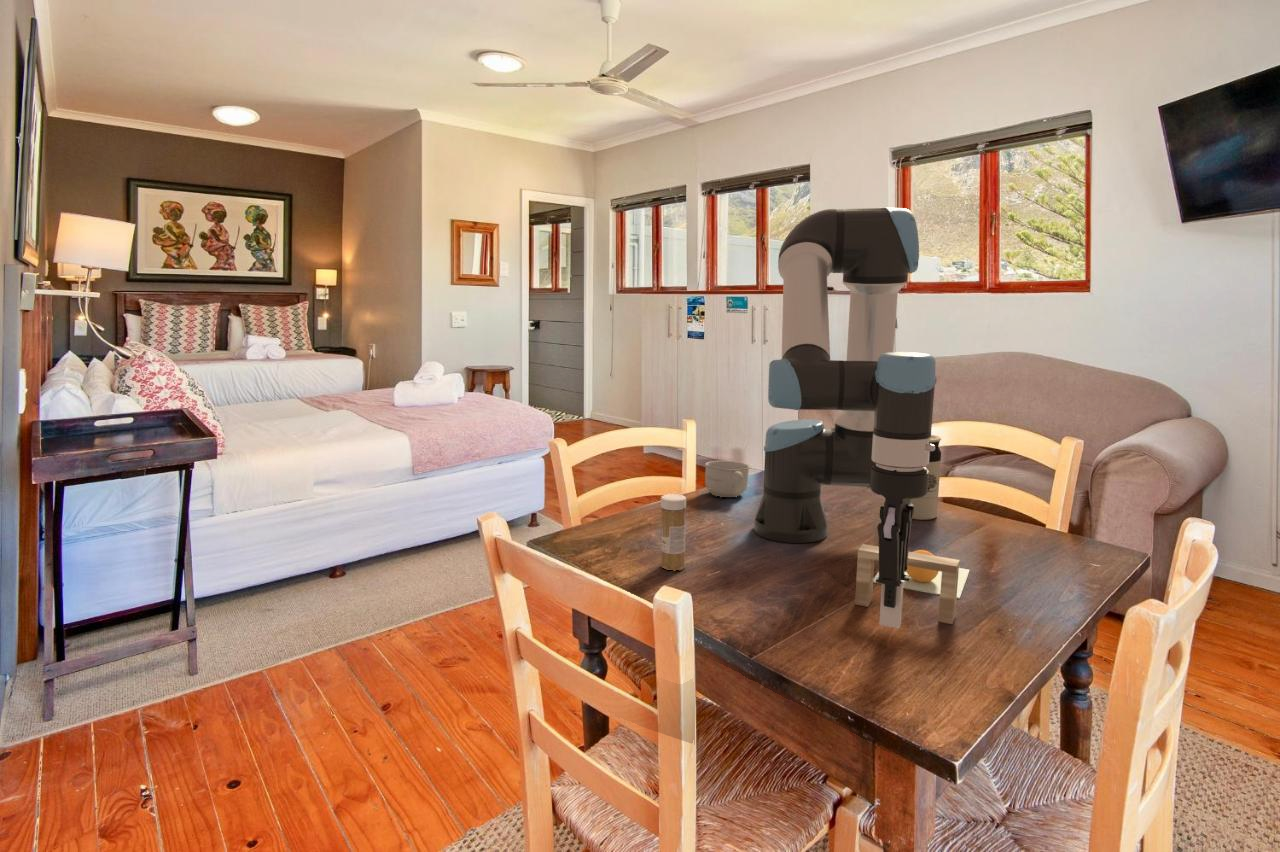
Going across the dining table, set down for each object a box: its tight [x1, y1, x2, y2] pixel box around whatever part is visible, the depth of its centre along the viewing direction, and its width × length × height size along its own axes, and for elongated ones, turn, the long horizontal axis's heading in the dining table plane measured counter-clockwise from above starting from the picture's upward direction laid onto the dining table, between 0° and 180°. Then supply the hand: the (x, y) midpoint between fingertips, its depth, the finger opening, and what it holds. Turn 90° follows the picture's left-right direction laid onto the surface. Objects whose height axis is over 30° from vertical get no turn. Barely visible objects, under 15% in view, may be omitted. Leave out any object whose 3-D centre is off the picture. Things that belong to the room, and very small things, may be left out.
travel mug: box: [910, 434, 942, 521], centre depth 161 cm, size 8×8×18 cm
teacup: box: [704, 460, 750, 498], centre depth 177 cm, size 14×11×8 cm
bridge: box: [854, 543, 960, 625], centre depth 113 cm, size 3×14×9 cm, turn 59°
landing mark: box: [873, 567, 971, 600], centre depth 127 cm, size 14×14×1 cm
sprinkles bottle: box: [660, 493, 687, 572], centre depth 131 cm, size 5×5×14 cm
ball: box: [906, 549, 939, 582], centre depth 125 cm, size 6×6×6 cm
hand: (890, 624), depth 104 cm, fingers closed
